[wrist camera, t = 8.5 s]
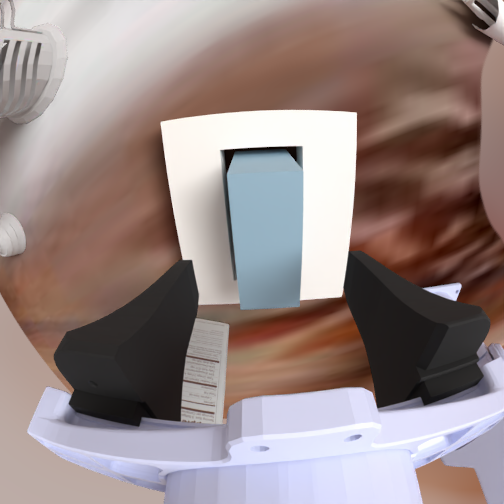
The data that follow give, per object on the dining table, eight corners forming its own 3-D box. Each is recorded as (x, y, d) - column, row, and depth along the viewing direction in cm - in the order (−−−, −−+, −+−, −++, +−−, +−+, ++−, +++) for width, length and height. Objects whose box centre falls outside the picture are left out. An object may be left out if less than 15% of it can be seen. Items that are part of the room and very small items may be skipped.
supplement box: (221, 365, 30) (213, 468, 19) (158, 353, 29) (132, 451, 18) (232, 322, 26) (224, 445, 15) (157, 307, 25) (117, 422, 14)
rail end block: (286, 249, 22) (299, 306, 16) (243, 251, 22) (240, 309, 16) (285, 148, 18) (303, 171, 12) (235, 151, 18) (226, 174, 12)
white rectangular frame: (334, 279, 24) (341, 296, 21) (197, 286, 24) (193, 304, 22) (343, 111, 17) (356, 112, 14) (171, 119, 17) (160, 121, 15)
